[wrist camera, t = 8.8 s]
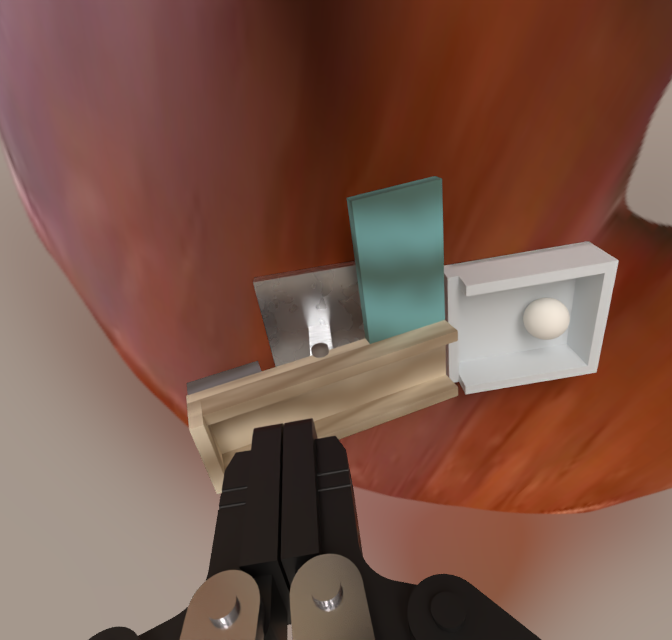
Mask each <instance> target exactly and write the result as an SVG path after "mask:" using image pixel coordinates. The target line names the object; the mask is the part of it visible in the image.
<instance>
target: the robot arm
mask: <svg viewBox="0 0 672 640" xmlns="http://www.w3.org/2000/svg"><path fill="white" fill-rule="evenodd" d="M289 624H291V625H292V640H541V639H540V638H539V637H537V636H536V635H535V634H533V633H532V632H531V631H530V630H528V629H527V628H526V627H525V626H523V625H522V624H521V623H520V622H518V621H517V620H516V619H514V618H513V617H512V616H511V615H509V614H508V613H507V612H506V611H504V610H503V609H502V608H501V607H499V606H498V605H497V604H495V603H494V602H493V601H492V600H491V599H489V598H488V597H487V596H485V595H484V594H483V593H481V592H480V591H479V590H478V589H477V588H475V587H474V586H473V585H472V584H470V583H469V582H467V581H466V580H464V579H462V578H460V577H457V576H454V575H448V574H438V575H433V576H430V577H428V578H426V579H424V580H423V581H421V582H420V583H419V584H418V585H414V584H409V583H404V582H398V581H394V580H390V579H387V578H385V577H382V576H380V575H379V574H377V573H376V572H375V571H374V570H372V569H371V568H370V567H369V565H368V564H367V563H366V562H365V560H364V558H363V554H362V547H361V540H360V533H359V526H358V519H357V512H356V505H355V498H354V491H353V485H352V480H351V474H350V469H349V464H348V458H347V453H346V449H345V448H344V447H343V445H342V444H341V443H340V441H339V440H338V438H337V437H336V436H330V437H324V438H318V437H317V433H316V429H315V424H314V421H313V418H310V419H304V420H298V421H292V422H287V423H284V424H283V423H281V424H275V425H270V426H264V427H258V428H254V430H253V435H252V445H251V450H248V451H242V452H236V453H235V454H234V456H233V458H232V459H231V461H230V463H229V464H228V466H227V468H226V469H225V472H224V478H223V484H222V494H221V497H220V503H219V510H218V516H217V522H216V528H215V535H214V541H213V547H212V553H211V559H210V566H209V572H208V575H207V579H206V581H205V582H204V583H203V584H202V585H201V586H200V587H199V589H198V590H197V591H196V592H195V594H194V595H193V597H192V599H191V601H190V603H189V606H188V607H187V608H186V609H185V610H184V611H182V612H181V613H180V614H178V615H177V616H175V617H173V618H172V619H170V620H168V621H166V622H164V623H162V624H160V625H158V626H156V627H155V628H153V629H151V630H149V631H147V632H145V633H143V634H141V635H139V636H137V635H136V633H135V632H134V631H132V630H131V629H129V628H126V627H112V628H109V629H106V630H103V631H102V632H99V633H98V634H96V635H94V636H93V637H91V638H90V639H89V640H287V625H289Z"/></svg>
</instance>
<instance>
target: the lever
mask: <svg viewBox="0 0 672 640" xmlns="http://www.w3.org/2000/svg"><path fill="white" fill-rule="evenodd" d="M347 204H348V211H349V219H350V227H351V234H352V242H353V249H354V257H355V264H356V272H357V279H358V287H359V295H360V302H361V310H362V317H363V325H364V332H365V339H362V340H358V341H355V342H352V343H349V344H346V345H343V346H340V347H337V348H334V349H330V350H329V349H328V345H327V344H325V343H317V344H315V345H313V346H312V348H311V351H312V356H309V357H306V358H302V359H299V360H296V361H293V362H290V363H287V364H284V365H281V366H278V367H274V368H271V369H268V370H265V371H262V372H261V369H260V366H259V363H258V361H256V362H252V363H249V364H246V365H243V366H240V367H236V368H233V369H230V370H227V371H224V372H221V373H217V374H214V375H211V376H208V377H205V378H202V379H198V380H195V381H192V382H189V383H187V391H188V395H187V396H186V398H187V410H188V422H189V431H190V433H191V435H192V437H193V440H194V442H195V444H196V447H197V449H198V451H199V454H200V456H201V458H202V460H203V463H204V465H205V468H206V470H207V472H208V474H209V477H210V479H211V481H212V484H213V486H214V488H215V491H216V493H217V494H220V493H222V484H223V478H224V472H225V469H226V468H227V466H228V464H229V463H230V461H231V459H232V458H233V456H234V454H235V453H236V452H242V451H248V450H251V445H252V435H253V430H254V428H258V427H264V426H270V425H275V424H281V423H283V424H284V423H287V422H292V421H298V420H304V419H310V418H313V421H314V424H315V429H316V433H317V437H318V438H324V437H330V436H336V437H337V438H338V440H339V439H342V438H344V437H347V436H350V435H352V434H355V433H358V432H361V431H363V430H366V429H369V428H371V427H374V426H377V425H380V424H382V423H385V422H388V421H390V420H393V419H396V418H399V417H401V416H404V415H407V414H409V413H412V412H415V411H418V410H420V409H423V408H426V407H428V406H431V405H434V404H437V403H439V402H442V401H445V400H447V399H450V398H453V397H456V396H458V386H457V385H456V384H455V383H454V382H453V381H452V380H451V379H450V378H449V377H448V376H447V375H446V347H445V345H447V344H450V343H453V342H456V341H458V330H456V329H455V328H454V327H453V326H452V325H450V324H449V323H448V322H447V321H446V320H445V300H444V252H443V205H442V178H439V177H436V176H433V177H429V178H425V179H421V180H417V181H413V182H409V183H405V184H401V185H397V186H393V187H389V188H385V189H381V190H376V191H372V192H368V193H364V194H360V195H356V196H352V197H348V198H347Z"/></svg>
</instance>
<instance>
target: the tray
mask: <svg viewBox="0 0 672 640" xmlns="http://www.w3.org/2000/svg"><path fill="white" fill-rule="evenodd" d="M618 261H619V260H617V259H616V258H614V257H612V256H611V255H609V254H608V253H606V252H604V251H603V250H601V249H600V248H598V247H596V246H595V245H593V244H592V243H590V242H582V243H576V244H570V245H564V246H558V247H552V248H546V249H540V250H534V251H528V252H522V253H517V254H511V255H505V256H499V257H493V258H487V259H481V260H475V261H469V262H463V263H457V264H451V265H445V266H444V300H445V320H446V321H447V322H448V323H449V324H450V325H452V326H453V327H454V328H455V329H456V330H458V341H456V342H453V343H450V344H447V345H445V347H446V375H447V376H448V377H449V378H450V379H451V380H452V381H453V382H459V383H460V385H461V387H462V389H463V390H464V392H465V394H471V393H477V392H483V391H489V390H495V389H501V388H507V387H513V386H519V385H524V384H530V383H536V382H542V381H548V380H554V379H560V378H566V377H572V376H578V375H584V374H590V373H596V372H597V367H598V362H599V357H600V352H601V347H602V342H603V337H604V331H605V326H606V321H607V316H608V311H609V306H610V301H611V296H612V291H613V286H614V281H615V276H616V271H617V266H618ZM540 298H554V299H556V300H558V301H560V302H562V303H563V304H564V305H565V306H566V308H567V309H568V312H569V315H570V322H569V325H568V328H567V329H566V331H565V332H564V333H563V334H562V335H560V336H559V337H557V338H554V339H550V340H543V339H539V338H536V337H534V336H533V335H531V334H530V333H529V332H528V331H527V330H526V328H525V326H524V322H523V315H524V312H525V309H526V308H527V306H528V305H529V304H530V303H531V302H533V301H535V300H537V299H540Z"/></svg>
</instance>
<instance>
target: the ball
mask: <svg viewBox="0 0 672 640" xmlns="http://www.w3.org/2000/svg"><path fill="white" fill-rule="evenodd" d="M523 322H524V326H525V328H526V330H527V331H528V332H529V333H530V334H531V335H533V336H534V337H536V338H539V339H543V340H550V339H554V338H557V337H559V336H560V335H562V334H563V333H564V332H565V331H566V329H567V328H568V325H569V322H570V315H569V312H568V309H567V308H566V306H565V305H564V304H563V303H562V302H560V301H558V300H556V299H554V298H540V299H537V300H535V301H533V302H531V303H530V304H529V305H528V306H527V308H526V309H525V312H524V315H523Z"/></svg>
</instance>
